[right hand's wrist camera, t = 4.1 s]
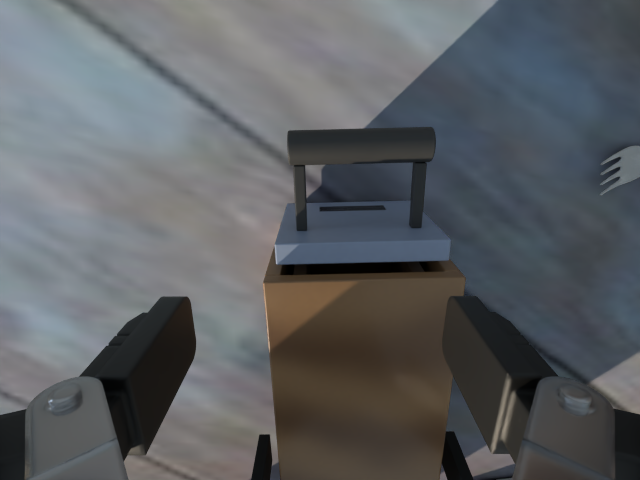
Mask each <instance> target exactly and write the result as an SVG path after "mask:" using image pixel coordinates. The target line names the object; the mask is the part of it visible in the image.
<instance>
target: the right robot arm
mask: <svg viewBox="0 0 640 480" xmlns="http://www.w3.org/2000/svg"><path fill="white" fill-rule="evenodd" d="M442 349H443V354H444V358H445V360H446V362H447V364H448V367H449V369H450V371H451V373H452V375H453V377H454V379H455V381H456V383H457V385H458V387H459V389H460V391H461V393H462V395H463V397H464V399H465V401H466V403H467V405H468V407H469V409H470V411H471V413H472V415H473V417H474V419H475V421H476V423H477V425H478V427H479V429H480V431H481V433H482V435H483V437H484V439H485V441H486V443H487V446H488V448H489V450H490V452H491V454H510V455H511V457H512V459H513V461H514V462H515V464H516V465H515V469H514V473H513V476H512V480H640V414H635V413H631V412H626V411H622V410H617V409H613V407H612V406H611V404H610V403H609V401H608V400H607V399H606V398H605V397H604V396H602V395H601V394H600V393H599V392H597V391H596V390H594V389H593V388H591V387H589V386H587V385H585V384H583V383H581V382H578V381H576V380H573V379H569V378H565V377H559V376H558V375H557V374H556V373H555V372H554V371H553V370H552V368H551V367H550V366H549V365H548V364H547V363H546V362H545V361H544V359H543V358H542V357H541V356H540V355H539V354H538V353H537V351H536V350H535V349H534V348H533V347H532V346H531V345H529V342H528V341H527V340H526V339H525V338H524V337H523V336H522V335H520V332H519V331H518V330H517V329H516V328H515V327H514V325H513V324H512V323H511V322H510V321H508V320H507V319H505V318H504V317H502V316H500V315H499V314H497V313H496V312H489V311H488V309H487V308H486V307H485V306H484V304H483V303H482V302H481V301H480V300H479V298H478V297H476V296H450V297H449V299H448V302H447V308H446V315H445V323H444V330H443V337H442ZM195 351H196V337H195V330H194V323H193V316H192V309H191V302H190V300H189V298H188V297H161V298H160V299H159V300H158V301H157V302H156V304H155V305H154V306H153V307H152V308H151V310H150V311H149V312H148V313H142V314H140V315H139V316H137V317H135V318H134V319H132V320H130V321H129V322H127V323H126V325H125V326H124V327H123V328H122V329H121V330H120V331H119V332H118V334H117V336H115V337H114V338H113V339H112V340H111V341H110V343H109V345H108V346H106V347H105V348H104V349H103V350H102V351H101V353H100V354H99V355H98V356H97V357H96V358H95V359H94V360H93V362H92V363H91V364H90V365H89V366H88V367H87V368H86V369H85V371H84V372H83V373H82V374H81V375H80V376H79V377H75V378H71V379H67V380H64V381H62V382H59V383H57V384H55V385H53V386H51V387H49V388H47V389H46V390H44V391H43V392H41V393H40V394H39V395H38V396H36V397H35V398H34V399H33V400H32V401H31V403H30V404H29V406H28V407H27V409H25V410H21V411H16V412H12V413H8V414H3V415H0V480H128V476H127V473H126V469H125V465H124V460H125V458H126V457H127V455H146V453H147V451H148V449H149V447H150V445H151V443H152V441H153V439H154V437H155V435H156V433H157V431H158V429H159V427H160V425H161V423H162V421H163V419H164V417H165V415H166V413H167V411H168V409H169V407H170V405H171V403H172V401H173V399H174V397H175V395H176V393H177V391H178V389H179V387H180V385H181V383H182V381H183V379H184V377H185V375H186V373H187V371H188V369H189V367H190V365H191V363H192V361H193V359H194V356H195Z"/></svg>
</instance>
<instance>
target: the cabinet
mask: <svg viewBox="0 0 640 480" xmlns="http://www.w3.org/2000/svg"><path fill="white" fill-rule="evenodd" d="M281 223H282V222H281ZM280 226H281V225H280ZM418 262H419V263H420V265H421V267H422V268H423V270H424V271H425V272H404V273H361V274H319V275H293V272H294V266H295V264H287V265H277V264H276V257H275V246H274V249H273V252H272V255H271V258H270V262H269V265H268V268H267V271H266V275H265V278H264V282H263V288H264V300H265V311H266V322H267V334H268V345H269V356H270V368H271V379H272V390H273V401H274V413H275V424H276V435H277V447H278V458H279V469H280V480H439V479H440V471H441V464H442V456H443V448H444V441H445V433H446V425H447V418H448V410H449V403H450V395H451V387H452V380H453V375H452V373H451V371H450V369H449V367H448V364H447V362H446V360H445V358H444V354H443V349H442V337H443V330H444V323H445V315H446V308H447V302H448V299H449V297H450V296H464V288H465V280H466V278H465V276H464V275H463V274H462V273H461V272H460V270H459V269H458V268H457V267H456V266H455V264H454V263H453V262H452V261H451V260H450V259H449V260H448V261H418Z"/></svg>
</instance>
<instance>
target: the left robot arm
mask: <svg viewBox="0 0 640 480" xmlns="http://www.w3.org/2000/svg"><path fill="white" fill-rule="evenodd" d="M442 465H443V468H444V471H445V474H446V477H447V480H473V477H472V475H471V472H470V470H469V468H468V465H467V463H466V460H465V458H464V455H463V453H462V450H461V448H460V445H459V443H458V440H457V438H456V435H455V433H454V431H453V432H446V433H445V441H444V448H443V456H442ZM271 466H272V453H271V443H270V434H269V435H259V441H258V446H257V451H256V457H255V462H254V468H253V473H252V479H251V480H270V474H271Z"/></svg>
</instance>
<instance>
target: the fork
mask: <svg viewBox="0 0 640 480" xmlns="http://www.w3.org/2000/svg"><path fill="white" fill-rule="evenodd" d="M618 157H621V159H620V160H619V161H618V162H617V163H615V164H614V165H612V166H611V167H609V168H608V169H606V170H605V171H603V172H602V173H601V174H600V175H603V174H605V173H607V172H609V171H611V170H613V169H615V168H617V167H620V170H619V171H618V172H616V173H615V174H613V175H611V176H610V177H609V178H607V179H606V180H604V181H603V182H602V183H600V184H599V185H603V184H605V183H606V182H608V181H610V180H612V179H614V178H616V177H620V178H619V180H618V181H617V182H615V183H614V184H612V185H611V186H609V187H608V188H606V189H605V190H604V191H602V192H601V193H600V194H599V195H603V194H604V193H606V192H607V191H609V190H611V189H613V188H615V187H617V186H619V185H622V184H625V183H628V182H631V181H633V180H635V179H637V178H639V177H640V146H630V147H627V148H625V149H623V150H621V151H619V152H617V153H616V154H614V155H612V156H611V157H609V158H608V159H606V160H605V161H603V162H602V163H601V164H600V165H603V164H605V163H607V162H609V161H611V160H613V159H615V158H618Z"/></svg>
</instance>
